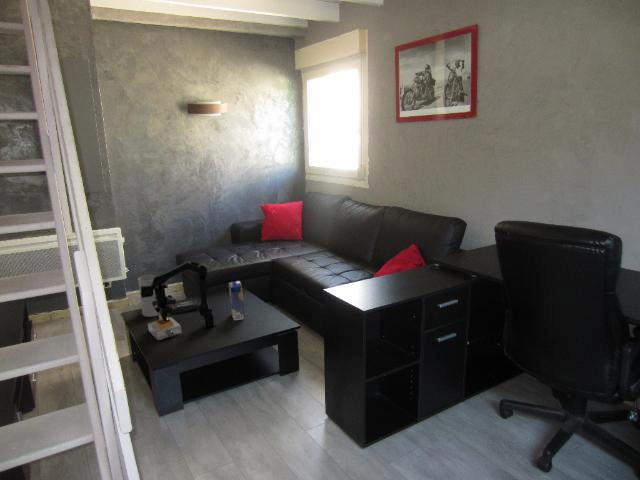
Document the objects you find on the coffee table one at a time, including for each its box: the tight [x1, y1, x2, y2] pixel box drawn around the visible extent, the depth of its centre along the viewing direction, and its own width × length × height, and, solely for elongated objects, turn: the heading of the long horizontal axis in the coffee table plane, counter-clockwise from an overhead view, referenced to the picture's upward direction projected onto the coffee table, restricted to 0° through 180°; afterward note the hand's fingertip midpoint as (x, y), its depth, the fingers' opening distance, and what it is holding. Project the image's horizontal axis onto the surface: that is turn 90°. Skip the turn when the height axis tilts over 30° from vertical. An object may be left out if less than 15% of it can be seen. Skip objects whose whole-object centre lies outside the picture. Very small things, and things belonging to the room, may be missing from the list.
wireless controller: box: [171, 299, 199, 315], centre depth 301 cm, size 20×14×17 cm
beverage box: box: [228, 280, 245, 321], centre depth 285 cm, size 7×11×22 cm, turn 18°
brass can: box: [158, 311, 169, 324], centre depth 266 cm, size 5×5×7 cm
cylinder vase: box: [137, 274, 159, 318], centre depth 294 cm, size 12×12×25 cm
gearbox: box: [147, 316, 182, 341], centre depth 266 cm, size 19×14×7 cm
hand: (163, 320), depth 266 cm, fingers closed on brass can, 5 cm apart
